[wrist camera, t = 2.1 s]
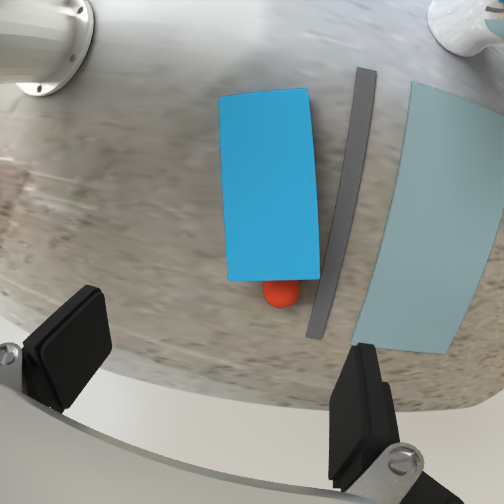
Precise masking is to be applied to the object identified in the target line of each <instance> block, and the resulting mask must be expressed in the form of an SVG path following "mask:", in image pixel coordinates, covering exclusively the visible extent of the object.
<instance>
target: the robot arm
mask: <svg viewBox="0 0 504 504" xmlns="http://www.w3.org/2000/svg"><path fill="white" fill-rule="evenodd" d="M93 24H94V20H93V12H92V9H91V5H90V4H89V2H88V1H87V0H0V84H10V83H16V84H17V85H18V87H19V88H20V89H21V91H23V92H24V93H25V94H27V95H30V96H46V95H49V94H52V93H54V92H56V91H57V90H59V89H60V88H62V87H63V86H64V85H65V84H66V83H67V82H68V81H69V80H70V79H71V78H72V77H73V75H74V74H75V73H76V71H77V70H78V68H79V67H80V65H81V64H82V62H83V60H84V58H85V56H86V53H87V51H88V48H89V45H90V42H91V38H92V34H93ZM23 345H24V347H23V348H22V349H21V348H20V346H18V345H17V344H14V343H4V344H1V345H0V504H464V502H463V501H462V500H461V499H460V498H459V497H457V496H456V495H454V494H453V493H452V492H450V491H449V490H448V489H446V488H445V487H444V486H442V485H441V484H439V483H438V482H437V481H435V480H434V479H433V478H431V477H430V476H429V475H428V474H426V473H425V472H424V471H423V468H424V459H423V456H422V454H421V453H420V451H419V450H418V449H417V448H416V447H414V446H412V445H410V444H408V443H403V442H402V443H400V439H399V433H398V426H397V421H396V415H395V410H394V404H393V399H392V394H391V389H390V385H389V383H388V382H382V379H381V374H380V369H379V364H378V359H377V354H376V349H375V346H374V344H368V343H360V342H359V343H358V344H357V345H356V346H352V347H351V349H350V351H349V354H348V356H347V359H346V361H345V364H344V366H343V369H342V371H341V374H340V376H339V378H338V381H337V383H336V385H335V388H334V390H333V392H332V395H331V398H330V404H329V414H330V415H329V418H330V419H329V423H330V425H329V471H328V478H329V480H333V488H341V492H338V491H333V490H326V489H318V488H311V487H303V486H295V485H288V484H281V483H274V482H269V481H263V480H257V479H252V478H246V477H241V476H236V475H231V474H227V473H223V472H218V471H214V470H210V469H206V468H202V467H199V466H195V465H191V464H188V463H184V462H181V461H178V460H174V459H171V458H168V457H164V456H162V455H158V454H155V453H153V452H149V451H147V450H144V449H141V448H138V447H136V446H133V445H130V444H127V443H125V442H122V441H120V440H118V439H115V438H113V437H110V436H108V435H105V434H103V433H101V432H98V431H96V430H94V429H91V428H89V427H87V426H85V425H83V424H81V423H79V422H77V421H74V420H72V419H70V418H68V417H66V416H64V415H62V413H63V411H64V410H65V409H68V408H69V407H70V406H71V405H72V404H73V402H74V401H75V399H76V398H77V397H78V395H79V394H80V393H81V391H82V390H83V388H84V387H85V386H86V384H87V383H88V382H89V380H90V379H91V378H92V376H93V375H94V374H95V372H96V371H97V370H98V368H99V367H100V366H101V365H102V363H103V362H104V361H105V359H106V358H107V357H108V355H109V354H110V352H111V350H112V342H111V336H110V331H109V325H108V318H107V312H106V305H105V298H104V294H103V293H102V292H101V290H100V289H99V288H97V287H94V286H90V285H85V286H84V287H83V288H81V289H80V290H79V291H78V292H77V293H76V294H75V295H73V296H72V297H71V298H70V299H69V300H68V301H67V302H65V303H64V304H63V305H62V306H61V307H60V308H59V309H58V310H57V311H55V312H54V313H53V314H52V315H51V316H50V317H49V318H48V319H47V320H46V321H45V322H43V323H42V324H41V325H40V326H39V327H38V328H37V329H36V330H35V331H34V332H33V333H32V334H31V335H30V336H29V337H28V338H27V339H26V340H25V341H23ZM49 407H51V408H49Z"/></svg>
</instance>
